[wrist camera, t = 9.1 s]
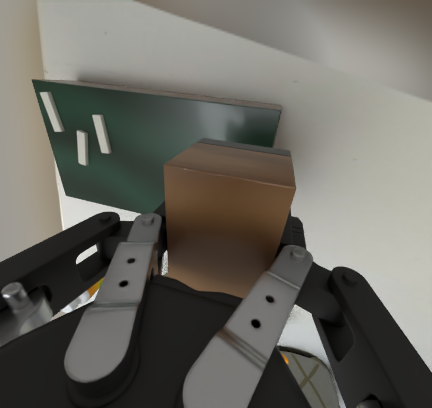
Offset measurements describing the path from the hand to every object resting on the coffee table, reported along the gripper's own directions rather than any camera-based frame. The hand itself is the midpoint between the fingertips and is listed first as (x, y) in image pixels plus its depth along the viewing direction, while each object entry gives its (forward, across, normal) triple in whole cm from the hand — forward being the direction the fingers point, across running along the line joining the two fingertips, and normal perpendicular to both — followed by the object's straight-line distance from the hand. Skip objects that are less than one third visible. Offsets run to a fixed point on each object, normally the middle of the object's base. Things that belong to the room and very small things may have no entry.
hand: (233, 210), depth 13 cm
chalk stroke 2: (+9, +19, +1) cm, 21 cm away
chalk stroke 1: (+9, +22, -2) cm, 24 cm away
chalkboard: (+15, +11, +2) cm, 19 cm away
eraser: (+1, 0, 0) cm, 1 cm away
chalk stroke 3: (+9, +16, -1) cm, 19 cm away
